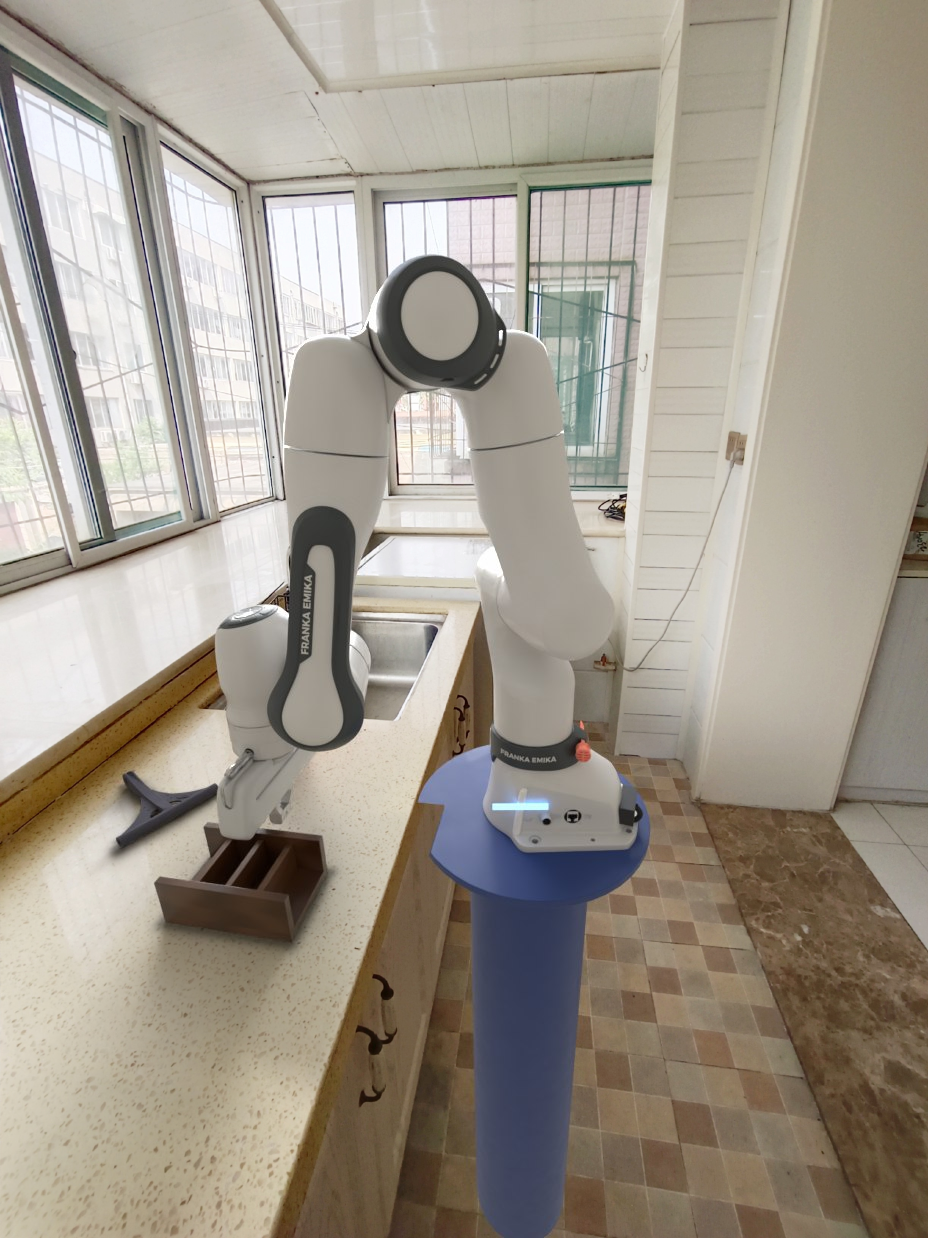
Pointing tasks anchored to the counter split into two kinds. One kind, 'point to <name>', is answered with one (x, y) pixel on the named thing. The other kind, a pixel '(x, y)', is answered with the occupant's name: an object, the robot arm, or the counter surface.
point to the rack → (249, 884)
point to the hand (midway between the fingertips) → (281, 816)
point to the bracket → (158, 806)
